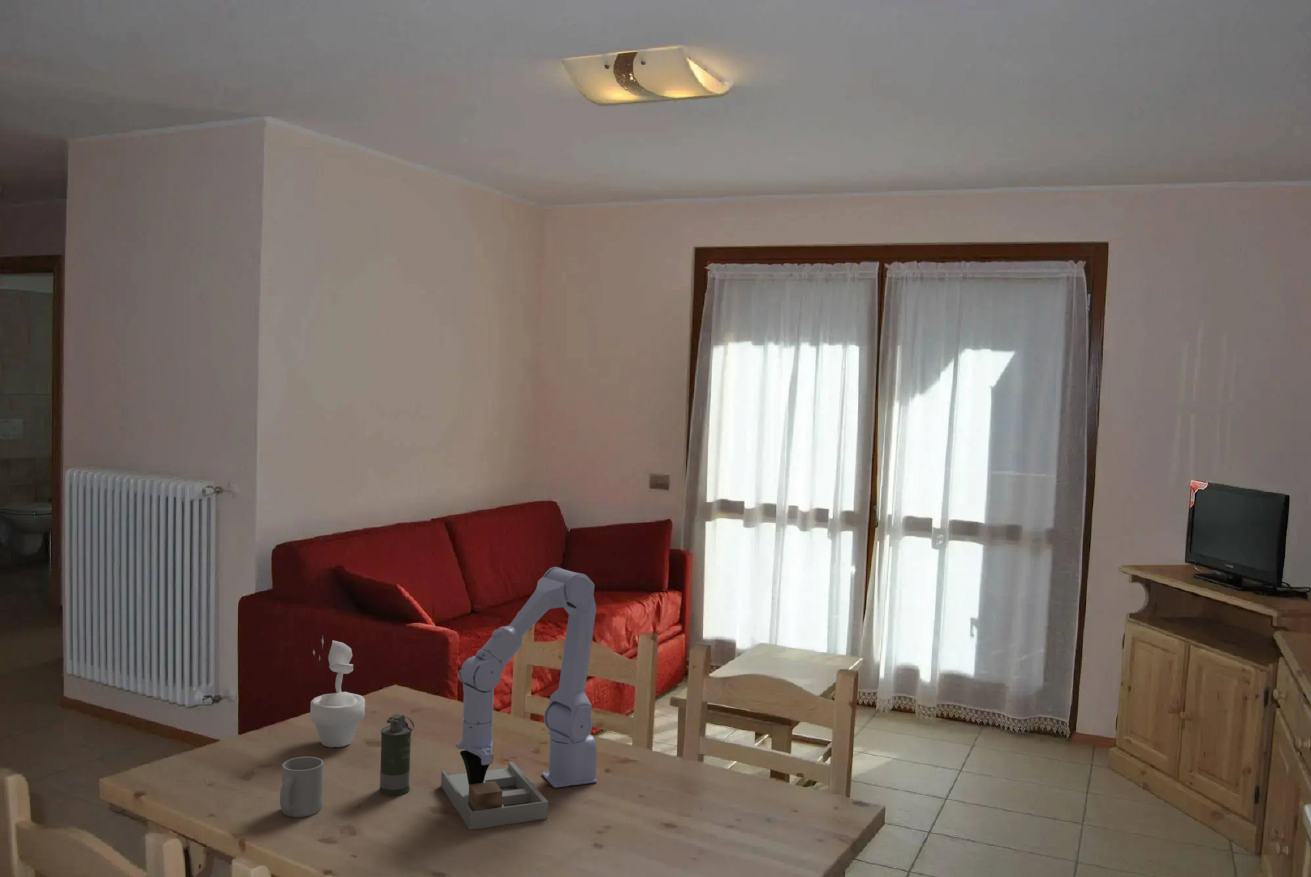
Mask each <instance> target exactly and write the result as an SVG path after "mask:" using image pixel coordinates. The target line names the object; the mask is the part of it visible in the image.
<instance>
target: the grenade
mask: <svg viewBox="0 0 1311 877" xmlns="http://www.w3.org/2000/svg"><path fill="white" fill-rule="evenodd" d="M406 719H408V720H409V722H410V723H411V724H412V728H411V727H410V726H409V724H408V722H407V721H406ZM386 723H388V724H390V725H388V726H385V727H383V728H382V729H381V730H380V734H381V737H380V738H381V741H380V742H381V744H380V745H381V746H380V771H379V772H380V773H379V774H380V776H379V777H380V778H379V789H378V792H379V794H380V795H383V796H387V797H398V796H402V795H406V794H407V793H409V792H410V790H411V788H410V773H411V770H410V768H411V743H412V742H411V740H412V732H413V730H414V729H415V724H414V722H413V720H412V719H411V718H409V717H407V716H406V717H405V715H404V714H399V713H398V714H397V713H394V714H392V715H391V716H389V717H388V719H386Z"/></svg>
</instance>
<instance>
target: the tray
mask: <svg viewBox="0 0 1311 877" xmlns="http://www.w3.org/2000/svg"><path fill="white" fill-rule="evenodd" d="M507 766H508V767H506V768H498V769H497V768H495V769H487V771H486V775H485V778H484V782H483V783H486V782H494V781H495V782H496V784H497V785H498V786H499V787H500V789H501V790H502V807H500V808H493V809H485V810H478V811H472V810H471V809H470V807H469V806H468V801H469V784H468V778H467V772H464V773H455V774H448V773H447V772H446V771H445V769H443V770H441V775H440V776H441V777H440V778H441V779H440V787H441V786H442V787H441V788H442V790H443V791H444V793H445V794H446V796H447V797H448V799H449V800H450V802H451V804H452V805H453V806H454V808H455V809H456V811H457V813H458V814H459V816H460V817H461V819H462V820H463V822H464V823H465V825H466V826H467V828H468V830H469V831H471V830H479V829H486V828H491V827H500V826H504V825H505V824H507V825H511V824H519V823H526V822H532V821H538V820H546V819H548V816H549V815H548V813H549V801H548V800H547V799H546V797H545V796H544V795H543V794H542V793H541V792H540V790H539V789H538V788H537V787H536V786H535V785H534V784H533V783H532V781H531V780H529V778H528V777H527V776H526V774H524V772H522V770H521V769H520V768H519V767H518V766H517V764H516V763H515V761H509V762H508V763H507ZM499 825H500V826H499Z"/></svg>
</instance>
